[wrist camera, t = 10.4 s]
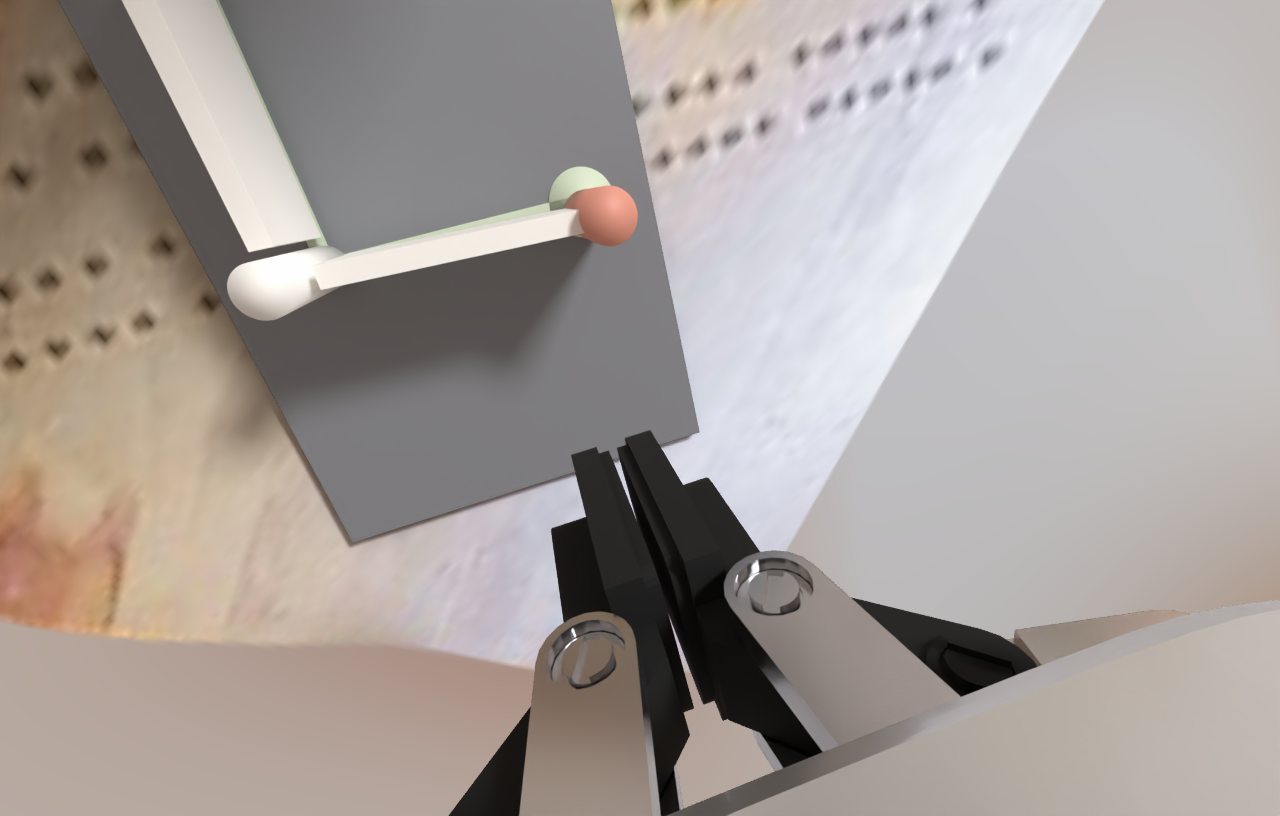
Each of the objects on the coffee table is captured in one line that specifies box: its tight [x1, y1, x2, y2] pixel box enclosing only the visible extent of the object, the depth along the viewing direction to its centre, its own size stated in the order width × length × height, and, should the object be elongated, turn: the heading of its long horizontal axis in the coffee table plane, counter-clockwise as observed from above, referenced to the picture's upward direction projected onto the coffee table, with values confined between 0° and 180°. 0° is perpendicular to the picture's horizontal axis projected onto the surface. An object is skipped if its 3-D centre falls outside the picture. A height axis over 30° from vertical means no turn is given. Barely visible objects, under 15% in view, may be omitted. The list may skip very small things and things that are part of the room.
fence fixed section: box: [122, 0, 344, 321], centre depth 18 cm, size 13×2×7 cm, turn 14°
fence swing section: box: [311, 186, 638, 290], centre depth 21 cm, size 11×2×6 cm, turn 102°
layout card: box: [58, 0, 699, 542], centre depth 24 cm, size 26×19×1 cm
